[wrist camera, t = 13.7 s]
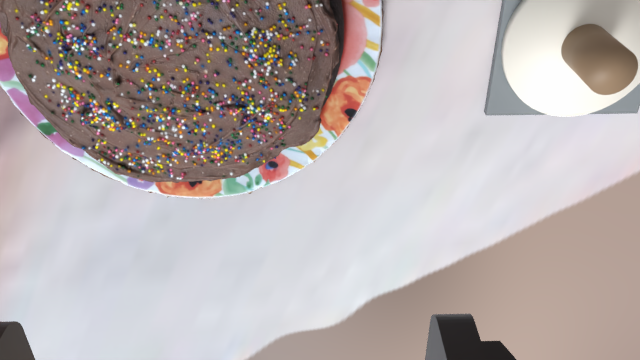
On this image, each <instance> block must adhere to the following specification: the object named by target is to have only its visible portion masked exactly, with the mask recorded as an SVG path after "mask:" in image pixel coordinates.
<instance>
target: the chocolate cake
mask: <svg viewBox="0 0 640 360" xmlns="http://www.w3.org/2000/svg"><path fill="white" fill-rule="evenodd" d="M382 25H383V9H382V0H0V87H1V88H2V89H4V90H5V92H6V94H8V95H9V97H10V100H11V102H12V103H13V104H14V105H15V106H16V107H17V108H18V109H19V110H20V114H22V115H23V116H24V117H26V118H27V119H28V120H29V121H30V122H31V123H32V124H33V125H34V126H35V127H36V128H37V129H38V130H39V132H40V133H41V134H42V135H43V136H44V137H45V138H47V139H49V140H50V141H51V142H52V143H53V144H54V145H56V146H57V147H58V148H59V149H60V150H62V151H63V152H65V153H67V154H68V155H70V156H72V158H73V159H75V160H78V161H79V162H80V163H82V164H84V165H86V166H88V167H90V168H91V169H92V170H94V171H96V172H99V173H100V174H102V175H104V176H106V177H109V178H111V179H114V180H117V181H119V182H122V183H124V184H126V185H128V186H130V187H133V188H138V189H142V190H145V191H148V192H150V193H151V192H155V193H159V194H163V195H166V196H167V197H170V196H174V197H181V198H188V197H189V198H199V199H203V198H218V197H221V196H222V197H226V196H232V195H239V194H244V193H249V194H250V193H251V192H253V191H255V190H257V189H258V188H262V187H265V186H268V185H271V184H274V183H277V182H279V181H282V180H283V179H285V178H287V177H289V176H290V175H292V174H294V173H296V172H298V171H300V170H301V169H303V168H304V167H306V166H307V165H308V164H310V163H311V162H315V161H316V159H317V158H318V157H320V156H321V155H322V154H323V152H325V151H326V150H327V149H328V148H329V147H330V146H331V145H333V144H334V142H336V141H337V139H338V138H339V137H340V136H341V135H342V134H343V132H344V131H345V130H346V128H348V126H349V124H350V123H351V121H352V120H353V119H354V117H355V116H356V115H357V113H358V112H359V110H360V108H361V106H362V104H363V103H364V101H365V99H366V97H367V95H368V92H369V90H370V87H371V85H372V83H373V81H374V77H375V74H376V69H377V67H378V64H379V58H380V55H381V52H382V45H381V44H382Z"/></svg>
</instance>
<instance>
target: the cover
mask: <svg viewBox="0 0 640 360" xmlns="http://www.w3.org/2000/svg"><path fill="white" fill-rule="evenodd" d="M501 61H502V66H503V71H504V74H505V77H506V79H507V81H508V83H509V84H510V86H511V88H512V89H513V91H514V92H515V93H516V94H517V96H518V97H519V98H520V99H521V100H522V101H523V102H524V103H525V104H527V105H528V106H530V107H531V108H533V109H535V110H537V111H539V112H541V113H544V114H548V115H553V116H561V117H571V116H580V115H585V114H589V113H592V112H596V111H598V110H601V109H603V108H606V107H608V106H610V105H612V104H613V103H615V102H617V101H618V100H620V99H621V98H623V97H624V96H626V95H627V94H628V93H629V92H631V91H632V90H633V89H634V88H635V87H636V86H637V85H638V84H639V83H640V0H522V1H521V2H520V3H519V5H518V6H517V8H516V9H515V11H514V12H513V14H512V16H511V18H510V20H509V22H508V24H507V27H506V29H505V32H504V36H503V41H502V48H501Z"/></svg>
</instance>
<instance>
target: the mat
mask: <svg viewBox="0 0 640 360" xmlns="http://www.w3.org/2000/svg"><path fill="white" fill-rule="evenodd" d="M521 1H522V0H502V6H501V12H500V18H499V24H498V31H497V37H496V43H495V49H494V55H493V61H492V67H491V74H490V80H489V86H488V92H487V98H486V104H485V110H484V112H485V114H486V115H548V114H544V113H541V112H539V111H537V110H535V109H533V108H531V107H530V106H528V105H527V104H525V103H524V102H523V101H522V100H521V99H520V98H519V97H518V96H517V94H516V93H515V92H514V91H513V89H512V88H511V86H510V84H509V83H508V81H507V79H506V77H505V74H504V71H503V66H502V61H501V48H502V41H503V36H504V32H505V29H506V27H507V24H508V22H509V20H510V18H511V16H512V14H513V12H514V11H515V9H516V8H517V6H518V5H519V3H520V2H521ZM639 106H640V83H639V84H638V85H637V86H636V87H635V88H634V89H633V90H632V91H631V92H629V93H628V94H627V95H626V96H624V97H623V98H621V99H620V100H618V101H617V102H615V103H613V104H612V105H610V106H608V107H606V108H603V109H601V110H598V111H596V112H592V113H589V114H618V113H637V112H638V109H639Z"/></svg>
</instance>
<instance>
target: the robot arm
mask: <svg viewBox="0 0 640 360" xmlns="http://www.w3.org/2000/svg"><path fill="white" fill-rule="evenodd" d="M0 360H35V358H34V356H33V353H32V350H31V348H30V345H29V343H28V340H27V338H26V335H25V333H24V330H23V328H22V326H21V324H20V323H18V322H0ZM425 360H516V359H515V358H514V356H513V355H512V354H511V353H510V352H509V351H508V350H507V348H506V347H505V346H504V345H503V344H502V343H501V342H500V341H481V340H480V337H479V334H478V331H477V328H476V325H475V322H474V319H473V317H472V315H471V314H438V315H437V314H435V315H432V317H431V321H430V328H429V336H428V342H427V349H426V357H425Z"/></svg>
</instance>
